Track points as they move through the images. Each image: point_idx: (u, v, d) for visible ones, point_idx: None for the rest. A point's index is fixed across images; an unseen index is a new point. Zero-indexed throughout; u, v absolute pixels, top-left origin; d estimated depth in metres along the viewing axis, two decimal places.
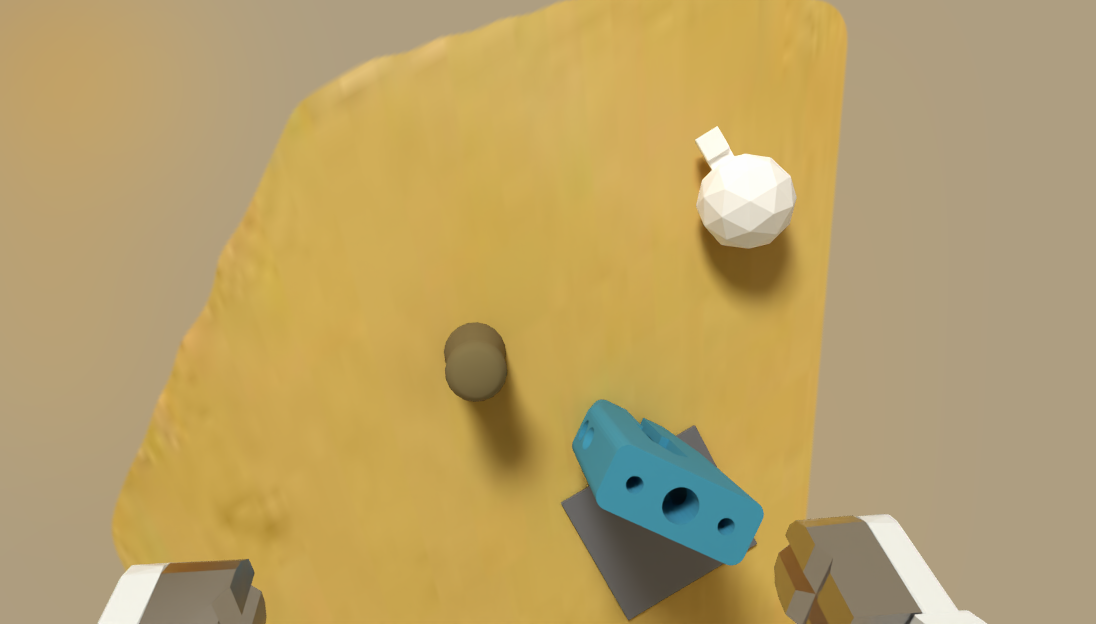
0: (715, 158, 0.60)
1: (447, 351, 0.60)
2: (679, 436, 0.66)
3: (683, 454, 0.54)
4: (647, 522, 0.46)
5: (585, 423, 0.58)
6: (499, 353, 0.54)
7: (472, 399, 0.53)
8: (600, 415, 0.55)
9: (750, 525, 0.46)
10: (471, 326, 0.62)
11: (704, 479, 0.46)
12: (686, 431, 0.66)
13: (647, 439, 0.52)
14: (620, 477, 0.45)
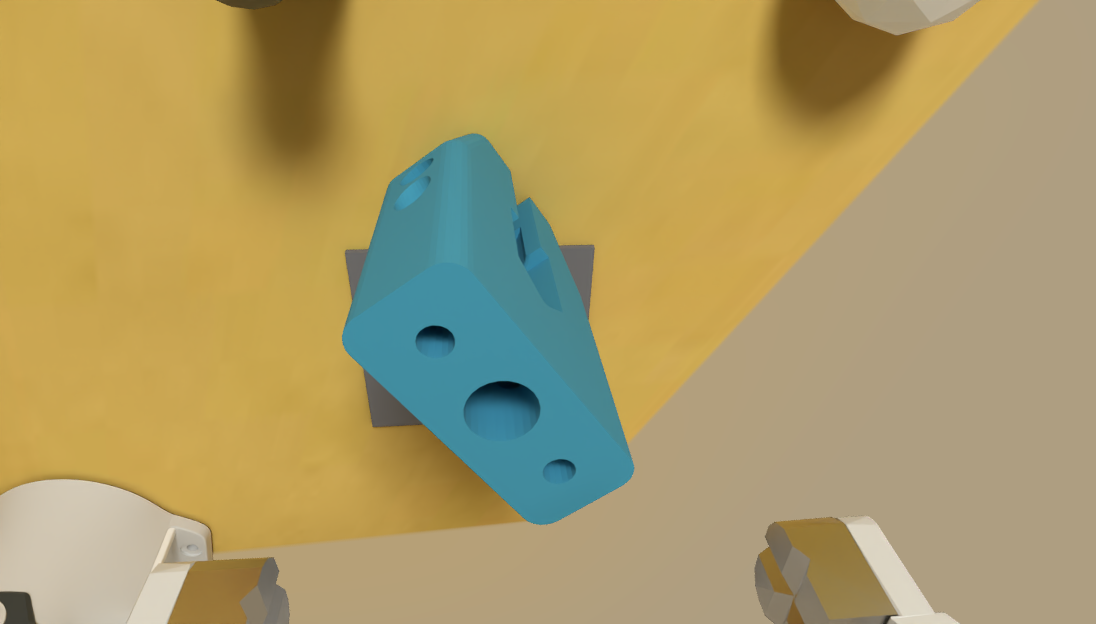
0: None
1: None
2: (564, 249, 0.42)
3: (557, 300, 0.30)
4: (425, 411, 0.22)
5: (427, 161, 0.31)
6: None
7: None
8: (455, 164, 0.28)
9: (598, 485, 0.25)
10: None
11: (570, 390, 0.23)
12: (578, 247, 0.42)
13: (512, 253, 0.26)
14: (413, 316, 0.20)
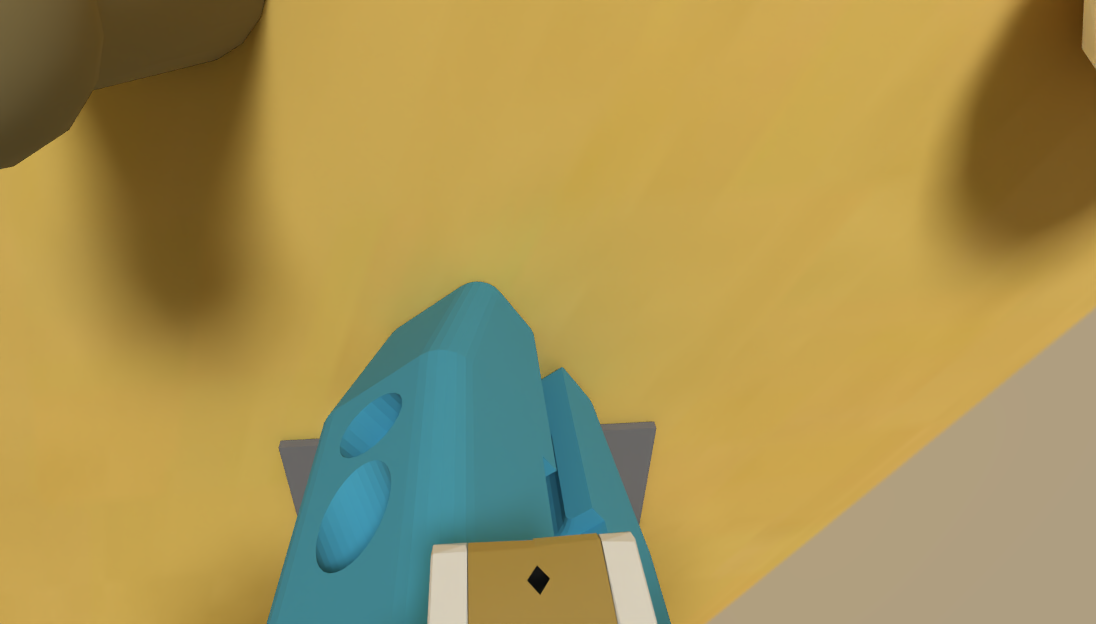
0: None
1: None
2: (611, 431, 0.28)
3: None
4: None
5: (392, 395, 0.17)
6: None
7: None
8: (442, 446, 0.14)
9: None
10: None
11: None
12: (631, 428, 0.28)
13: None
14: None
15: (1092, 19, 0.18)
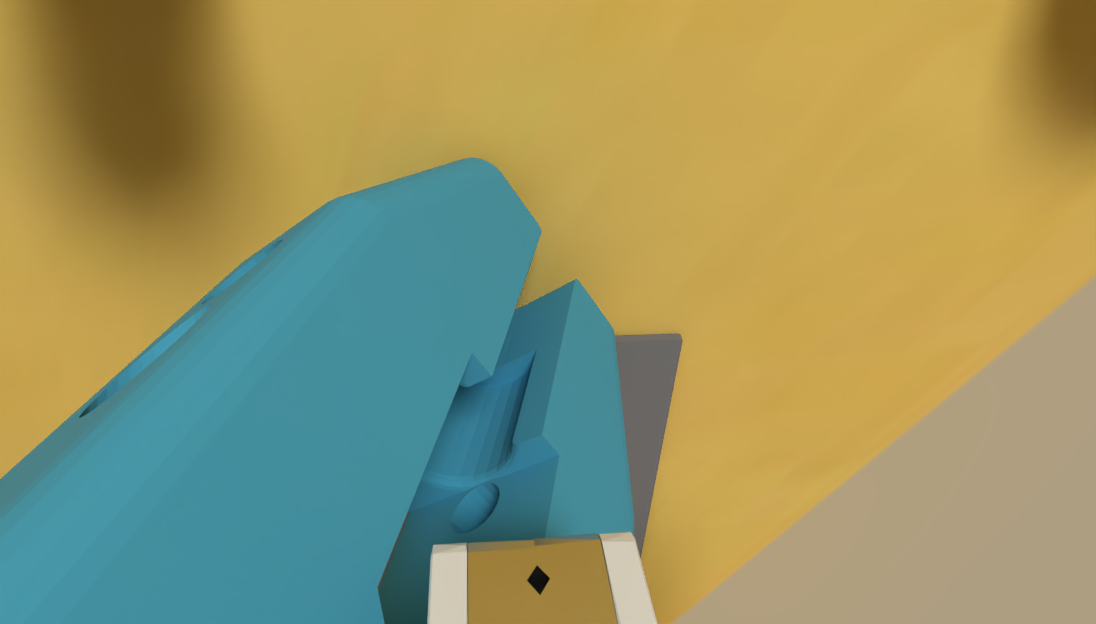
0: None
1: None
2: (632, 343, 0.25)
3: None
4: None
5: None
6: None
7: None
8: (268, 290, 0.10)
9: None
10: None
11: None
12: (655, 339, 0.25)
13: (333, 608, 0.09)
14: None
15: None
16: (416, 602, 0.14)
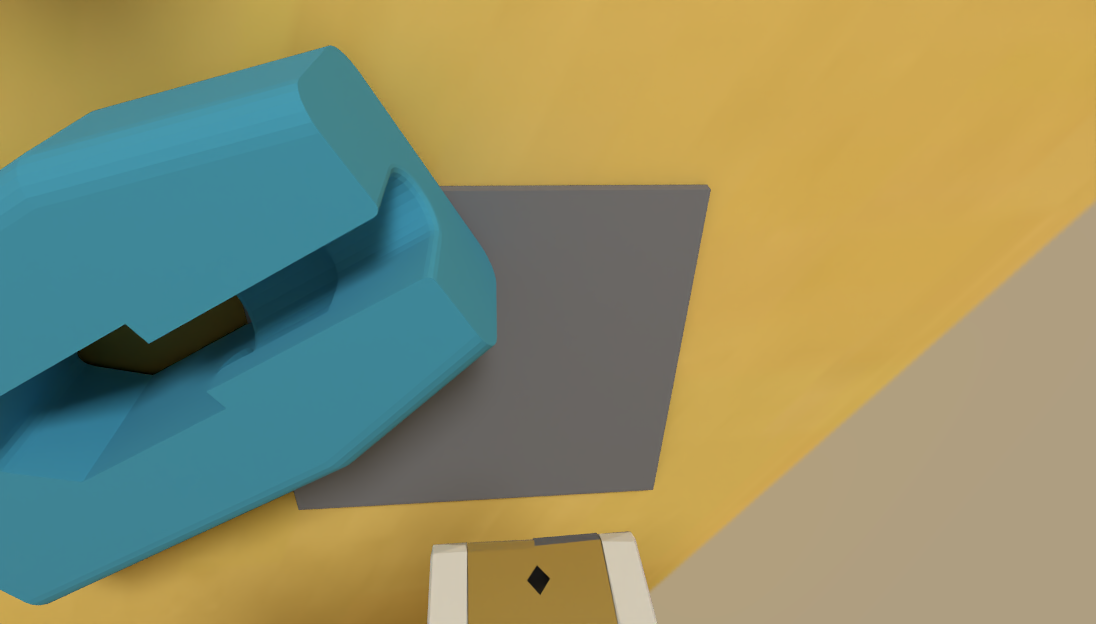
0: None
1: None
2: (653, 192, 0.21)
3: (113, 463, 0.19)
4: None
5: None
6: None
7: None
8: None
9: None
10: None
11: None
12: (678, 189, 0.22)
13: None
14: None
15: None
16: (190, 374, 0.22)
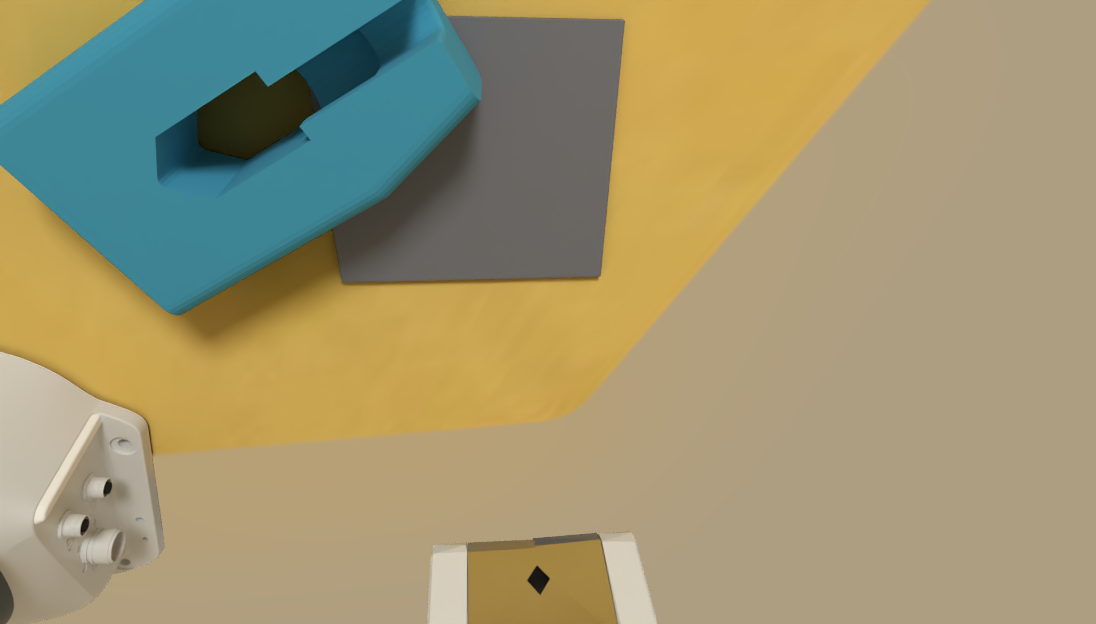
0: None
1: None
2: (586, 22, 0.32)
3: (235, 186, 0.30)
4: None
5: None
6: None
7: None
8: (134, 16, 0.26)
9: None
10: None
11: (95, 246, 0.31)
12: (603, 21, 0.32)
13: (134, 134, 0.28)
14: None
15: None
16: (278, 146, 0.33)
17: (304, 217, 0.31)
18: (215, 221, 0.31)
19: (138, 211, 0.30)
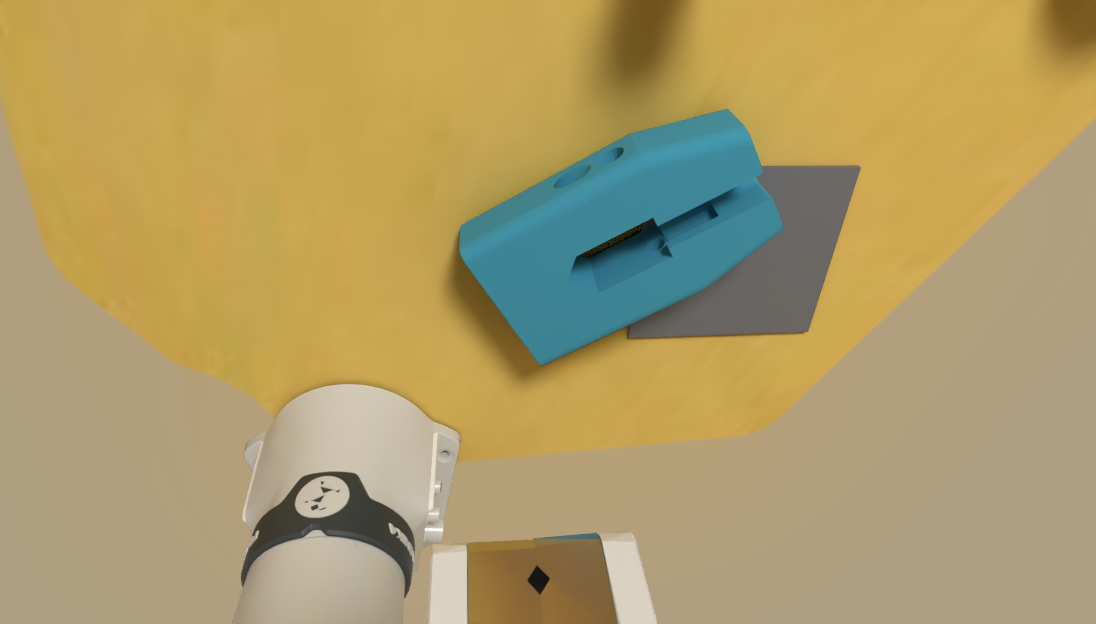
0: None
1: None
2: (835, 168, 0.47)
3: (614, 284, 0.45)
4: None
5: (623, 153, 0.42)
6: None
7: None
8: (588, 187, 0.41)
9: None
10: None
11: (509, 323, 0.46)
12: (846, 167, 0.48)
13: (564, 254, 0.43)
14: None
15: None
16: (623, 252, 0.48)
17: (651, 303, 0.46)
18: (593, 306, 0.46)
19: (547, 301, 0.46)
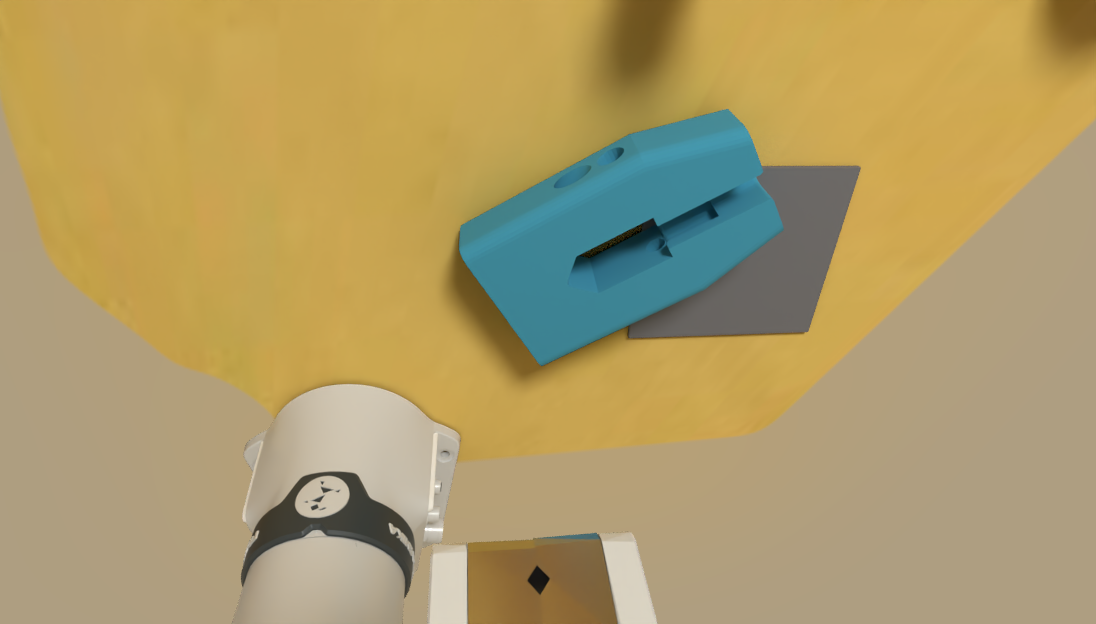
0: None
1: None
2: (835, 169, 0.47)
3: (614, 284, 0.45)
4: None
5: (624, 154, 0.42)
6: None
7: None
8: (588, 187, 0.41)
9: None
10: None
11: (509, 323, 0.46)
12: (846, 167, 0.48)
13: (564, 254, 0.43)
14: None
15: None
16: (624, 252, 0.48)
17: (651, 303, 0.46)
18: (593, 306, 0.46)
19: (547, 301, 0.46)
